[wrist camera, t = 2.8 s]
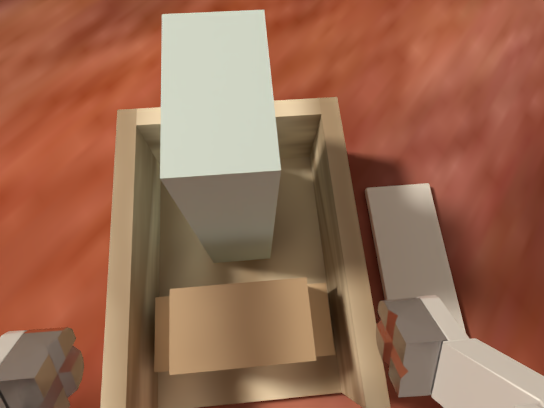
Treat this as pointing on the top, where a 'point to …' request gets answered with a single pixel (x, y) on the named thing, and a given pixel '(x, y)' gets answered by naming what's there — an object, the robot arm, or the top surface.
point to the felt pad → (410, 245)
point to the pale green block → (220, 130)
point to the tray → (239, 269)
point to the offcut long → (318, 316)
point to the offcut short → (240, 326)
